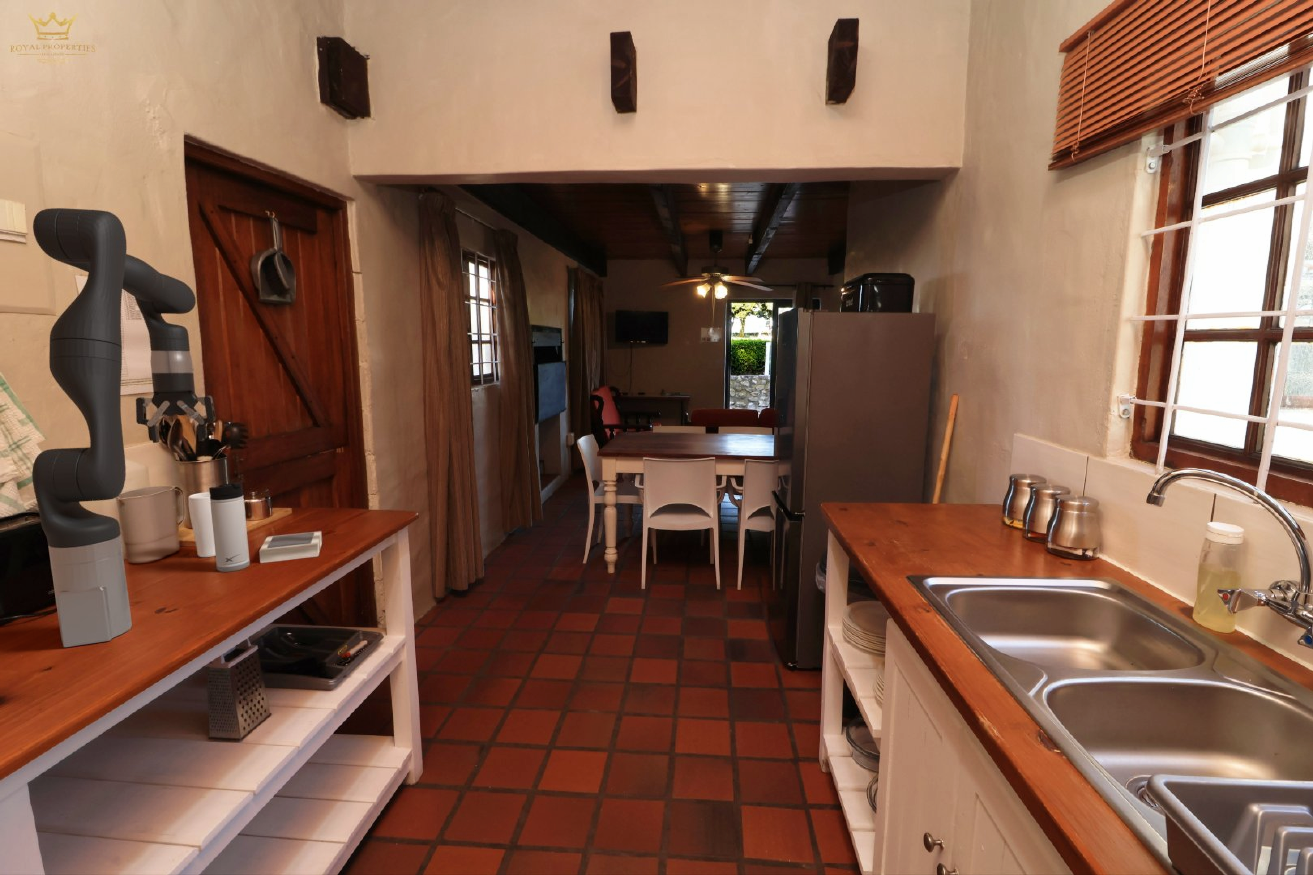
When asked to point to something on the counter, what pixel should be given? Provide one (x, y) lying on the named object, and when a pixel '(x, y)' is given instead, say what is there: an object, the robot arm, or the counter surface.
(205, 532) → the white tall cylinder
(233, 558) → the travel mug
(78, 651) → the counter surface
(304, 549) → the base
